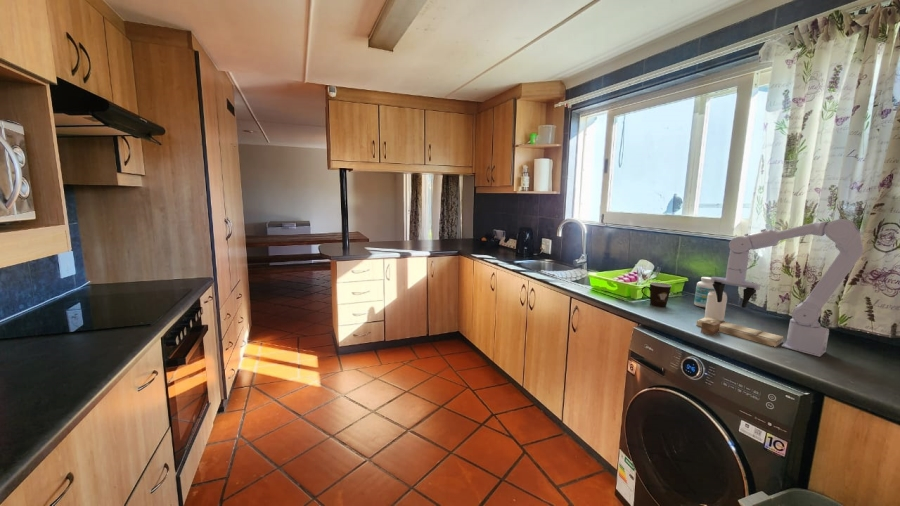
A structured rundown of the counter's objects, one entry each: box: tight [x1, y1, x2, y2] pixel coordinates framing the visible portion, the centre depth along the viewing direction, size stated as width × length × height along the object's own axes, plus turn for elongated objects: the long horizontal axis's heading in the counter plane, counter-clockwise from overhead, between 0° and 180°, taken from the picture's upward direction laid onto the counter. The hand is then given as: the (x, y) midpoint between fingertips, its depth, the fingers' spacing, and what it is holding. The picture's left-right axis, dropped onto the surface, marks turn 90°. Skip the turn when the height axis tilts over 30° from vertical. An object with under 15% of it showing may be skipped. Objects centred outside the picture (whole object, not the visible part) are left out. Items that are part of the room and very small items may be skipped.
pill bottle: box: [693, 276, 715, 309], centre depth 167 cm, size 8×7×14 cm
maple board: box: [696, 316, 784, 348], centre depth 134 cm, size 24×8×2 cm, turn 34°
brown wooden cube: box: [700, 320, 720, 336], centre depth 135 cm, size 4×5×4 cm
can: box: [704, 290, 728, 321], centre depth 148 cm, size 6×6×12 cm
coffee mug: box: [640, 281, 672, 309], centre depth 168 cm, size 12×9×10 cm
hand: (731, 304), depth 135 cm, fingers open, 7 cm apart
